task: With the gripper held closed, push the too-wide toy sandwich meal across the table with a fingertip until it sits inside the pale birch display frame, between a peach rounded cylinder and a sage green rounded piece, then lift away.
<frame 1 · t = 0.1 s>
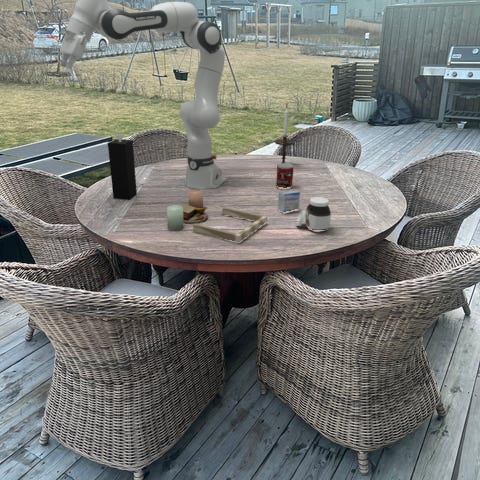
hand: (65, 67, 167), 54 cm above the table, tool tilted 30°, fingers open, 8 cm apart
canned food: (284, 187, 216), on the table
candlestick: (283, 167, 250), on the table
medicine box: (288, 211, 187), on the table
toy sandwich meal: (190, 219, 178), on the table
spread jar: (311, 228, 171), on the table
sage green rounded piece: (175, 227, 168), on the table
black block: (125, 197, 199), on the table
peach rounded cylinder: (195, 207, 189), on the table
display frame: (229, 227, 170), on the table
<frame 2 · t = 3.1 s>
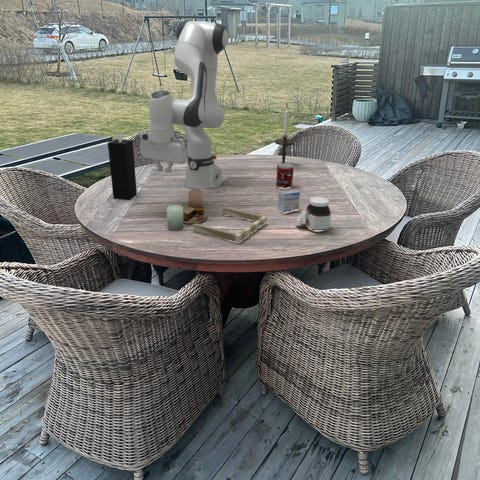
hand: (164, 171, 176), 17 cm above the table, tool pointing down, fingers open, 3 cm apart
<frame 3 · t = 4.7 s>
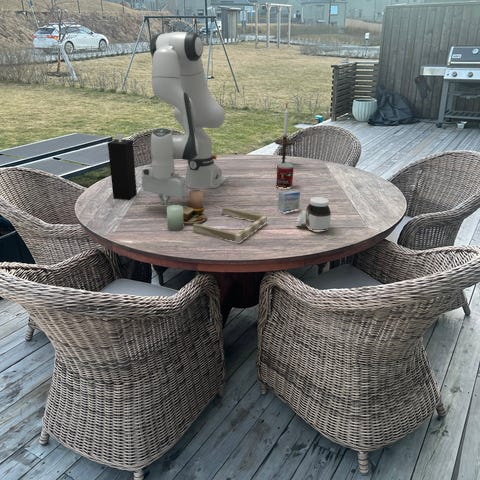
hand: (164, 204, 181), 3 cm above the table, tool pointing down, fingers closed
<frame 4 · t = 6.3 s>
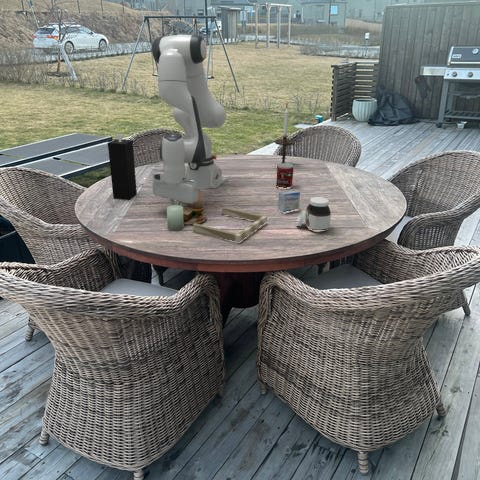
hand: (175, 209, 180), 2 cm above the table, tool pointing down, fingers closed
toy sandwich meal: (188, 220, 176), on the table, touching gripper
everything else where it was.
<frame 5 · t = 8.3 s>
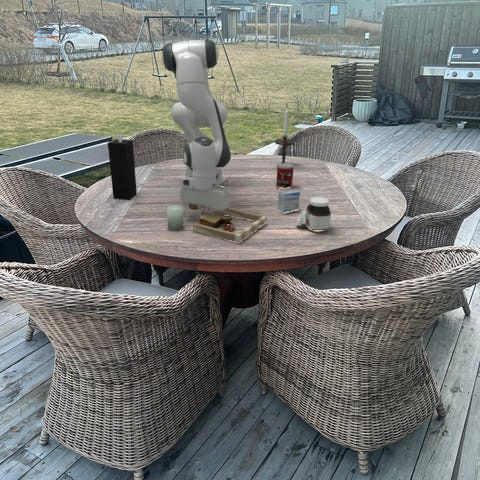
hand: (204, 216, 173), 2 cm above the table, tool pointing down, fingers closed
toy sandwich meal: (216, 229, 169), on the table, touching gripper
everything else where it was.
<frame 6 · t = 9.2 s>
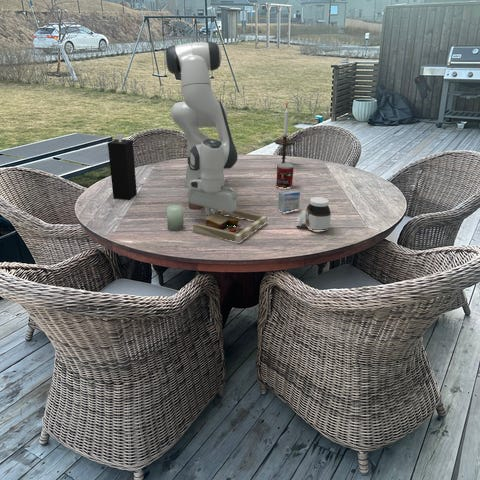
hand: (212, 218, 172), 2 cm above the table, tool pointing down, fingers closed
toy sandwich meal: (222, 230, 167), on the table, touching gripper
everything else where it was.
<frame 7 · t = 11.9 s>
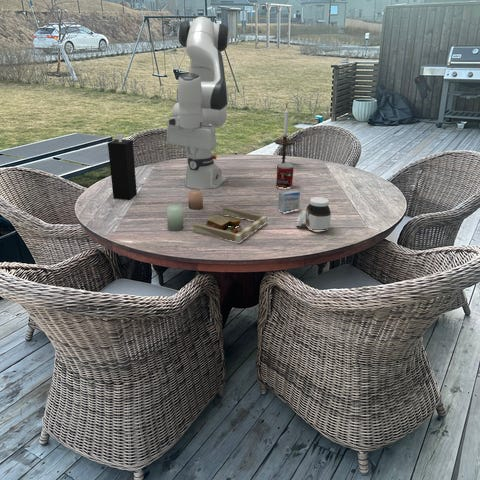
hand: (191, 158, 168), 24 cm above the table, tool pointing down, fingers closed
toy sandwich meal: (223, 231, 167), on the table
everything else where it was.
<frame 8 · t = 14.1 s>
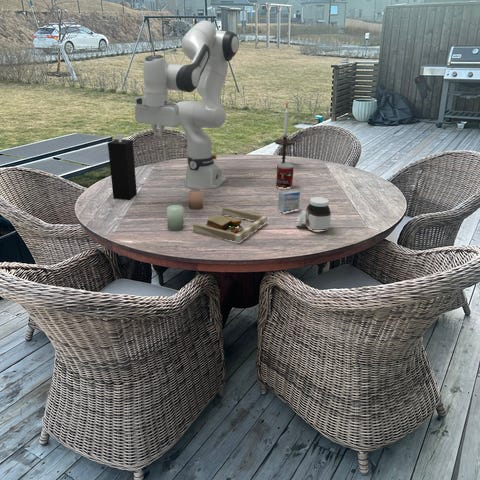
hand: (158, 136, 179), 29 cm above the table, tool pointing down, fingers closed
nothing on the table moved.
at the end: toy sandwich meal inside the target area on the display frame (3.7 cm from its centre), point -0.5 cm above the display frame's base; peach rounded cylinder moved 0.1 cm from its start; sage green rounded piece moved 0.0 cm from its start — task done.
